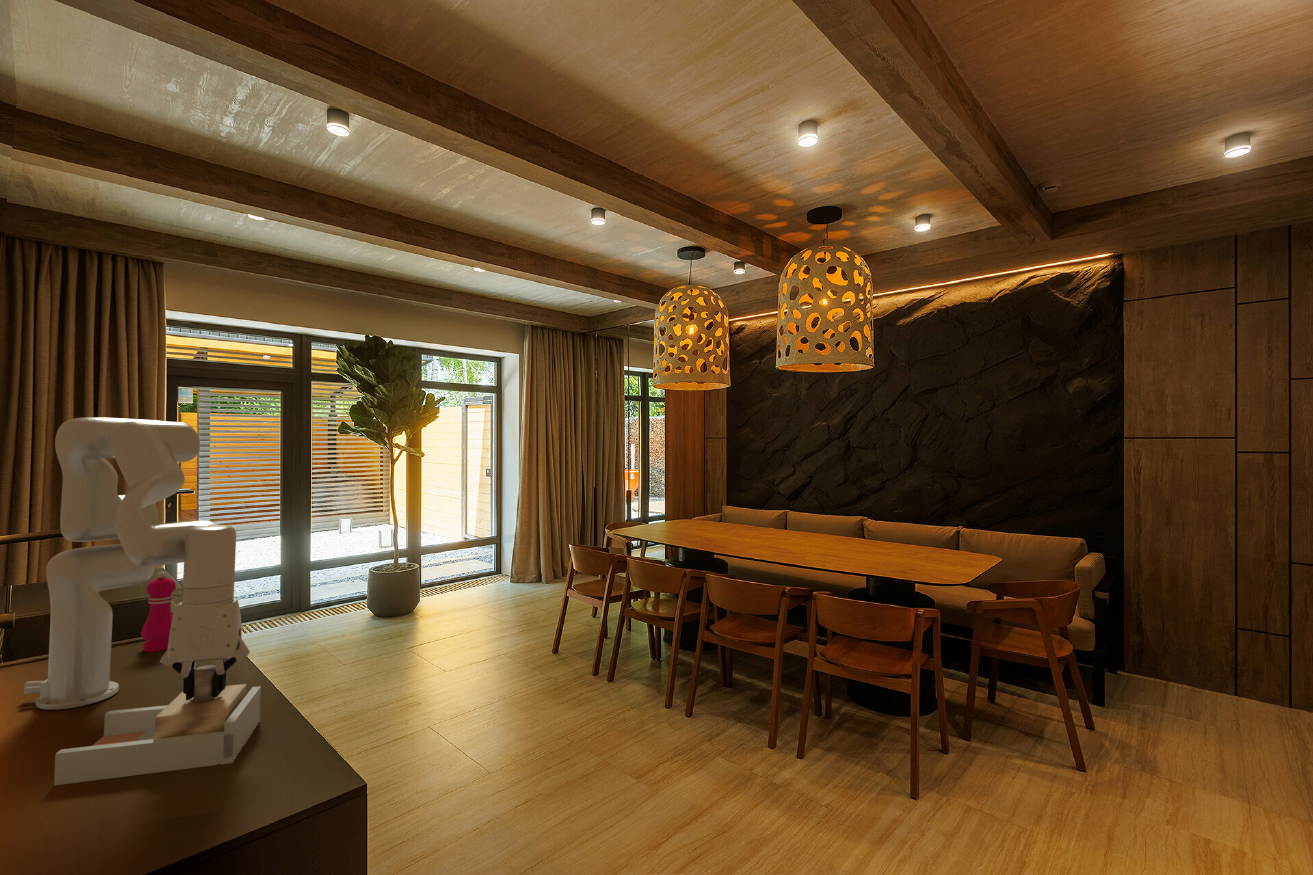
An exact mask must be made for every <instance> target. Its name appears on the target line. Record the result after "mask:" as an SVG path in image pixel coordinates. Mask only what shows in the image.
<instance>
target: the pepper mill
mask: <svg viewBox="0 0 1313 875" xmlns="http://www.w3.org/2000/svg"><path fill="white" fill-rule="evenodd" d="M166 576H167V573H166V572H165V571H159V572H158V573H157V577H156V578H154V579H152V580H150V581H149V582H148V583H147V585H146V588H145V589H146V594H147V595H149V597H148V598H147V599H148V602H147V603H148V604H150V605H149V607H150V609H149V613H148V617H147V618H146V621H145V622H144V624H143V626H142V629H141V636H140V637H141V638H142V639H143V640H144V642H143V644H142V650H143V651H144V652H148V653H149V652H150V653H153V652H162V651H167V649H168V643H169V635H170V629H171V624H172V619H173V613H172V611H171V605H172V604H171V603H172V602H173V600H174V599H173V598H174V597H173V591H174V589H177V585H176V581H175V580H174V579H172V578H171V577H166Z"/></svg>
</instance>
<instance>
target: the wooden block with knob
mask: <svg viewBox="0 0 1313 875" xmlns="http://www.w3.org/2000/svg"><path fill="white" fill-rule="evenodd" d="M215 672H216V664H215V665H214V664H210V665H209V664H208V665H202V666H199V667H195V670H194V691H193V698H192V699H190V700H186V694H183V691H181V692H180V693H179V694H178V695H176V696H175V697H176V698H174V699H173V700H172V701H170V703H169V704H167V705H168V706H167V707H166V708H165V709H164V710H162V711H161V712H160V713H159V714H158V715H157V716H156V717H155V737H154V739H160V738H169V737H178V736H187V735H196V734H205V733H214V732H223V731H224V723H225V722H226V720H227V719H228V718H229V717H230V715H231V714H232V713H233V712H234V710H235V709H236V708H237V706H238V705H239V704H240V703H241V701H242V700H243V699H244V698H245V696H246V695H247V694H248V692H247V691H248V690H247V689H248V684H247V683H243V684H231V685H226V686H225V689H224V690H222V692H221V693H220V694H219V695H218V697H215V698H213V697H212V681H213V676H214V675H215Z"/></svg>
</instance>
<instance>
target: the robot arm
mask: <svg viewBox="0 0 1313 875" xmlns="http://www.w3.org/2000/svg"><path fill="white" fill-rule="evenodd" d="M54 442H55V444H54V446H55V453H56V456H57V459H58V462H59V465H60V469H61V472H62V489H61V490H62V491H61V502H60V504H61V505H60V517H59V518H60V519H59V520H60V521H59V522H60V533H61V534H62V536H63V538H64V539H66V540H68V541H71V542H80V543H81V542H83V543H84V542H95V541H105V540H108V541H109V540H116V539H118V540H119V542H120V543H115V544H106V545H105V544H103V545H94V546H85V547H78V548H72V549H67V550H65V551H64V550H63V551H62V552H59V553H57V554H55V555H54V556H52V557H51V558H50V560H49V561H48V563H47V564H46V567H45V569H46V570H45V576H46V582H47V587H48V592H49V602H50V623H49V624H50V626H49V647H48V666H47V667H48V668H47V678H46V679H45V680H28V681H26V682H25V683H24V685H23V694H24V695H33V694H37V693H38V694H39V695H40V696H39V697H37V699H36V700H35V706H36V708H37V709H40V710H46V711H47V710H48V711H51V710H52V711H54V710H55V711H56V710H58V711H59V710H67V709H74V708H79V707H84V706H88V705H91V704H95V703H98V702H101V701H104V700H106V699H108V698H111V697H112V696H114V695H115V694H117V693H118V692H119V689H120V685H119V683H118V682H115V681H113V680H112V681H111V680H110V679H111V658H112V656H111V655H112V636H113V634H112V633H113V615H114V614H113V608H112V607H111V605H110V603H108V601H106V600H105V599H104V598H103V597H102V596H101V595H100V593H99V592H102V591H106V590H111V589H116V588H117V589H118V588H124V587H129V586H135V585H140V584H143V583H145V582H147V581H148V580H149V579H151V578H152V576H153V575H154V572H155V569H156V567H160V566H168V565H173V564H178V563H179V564H180V563H183V578H182V586H181V588H180V587H179V588H176V589H174V591H173V593H172V595H173V597H172V598H174V597H175V598H176V597H177V598H180V602H179V603H177V604H176V606H175V608H174V611H173V613H172V616H173V619H172V624H171V629H170V635H169V643H168V649H166V650H165V653H164V654H163V656H162V657H161V658H160V660H159V662H160V664H163V665H165V666H168V667H170V668H172V669H173V670H174V671H176V672H177V673H178V674H179V675H180V677H181V678H183V687H182V692H183V694H186V700H190V699H192V698H193V691H194V670H195V669H196V664H197V663H196V662H201V661H202V662H204V661H215V666H216V672H215V675H214V676H213V681H212V697H213V698H215V697H218V695H219V694H220V693H221V692H222V690H224V689H225V686H227V684H226V683H227V671H228V670H229V669H230V668H231V667H232V666H233V665H234V664H235V663H237V662H240V661H242V660H244V659H245V658H247V657H248V656H249V655H250V653H251V651H250V649H249V648H248V646H247V645H246V643H245V641H244V640H243V639H242V638H243V637H242V636H243V633H242V628H243V627H242V616H241V608H240V604H239V599H238V598H237V597H234V596H235V575H236V574H235V573H236V572H235V571H236V555H237V554H236V550H237V532H236V530H235V528H234V527H233V526H231V525H227V524H226V525H225V524H218V523H216V522H214V521H212V520H206V519H205V520H204V519H203V520H192V521H191V520H190V521H179V522H178V521H177V522H164V523H159V521H160V520H159V519H160V518H159V510H158V507H157V505H156V503H158V502H160V501H163V500H165V499H167V498H170V497H171V496H173V495H174V494H176V493H177V492H178V491H179V490H181V488H182V487H183V485H184V484H185V481H186V479H185V477H186V476H185V475H184V472H183V470H182V469H181V466H180V465H179V463H185V462H190V461H192V460H193V459H195V458H196V457H197V456H198V454H199V453H200V449H201V440H200V437H199V434H198V433H197V431H196V430H195V428H193V427H192V425H190V424H189V423H185V422H182V421H167V420H157V419H143V418H141V419H138V418H122V417H121V418H119V417H99V416H97V417H96V416H95V417H94V416H91V417H85V416H84V417H77V418H76V417H75V418H71V419H69V420H65V421H64V422H63V423H62V424H61V425H60V426H59V428H57V432H56V435H55V441H54ZM107 459H115V461H116V464H117V466H118V468H119V469H120V472H121V474H122V475H123V478H124V480H125V482H126V484H127V487H128V488H129V491H127V493H126V494H118V483H119V476H118V473H117V471H116V469H115V468H114V467H113V465H112V464H111V463H110V461H108V460H107ZM235 653H236V654H235Z"/></svg>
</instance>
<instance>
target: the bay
mask: <svg viewBox="0 0 1313 875" xmlns="http://www.w3.org/2000/svg"><path fill="white" fill-rule="evenodd" d="M261 694H262V686H260V685H259V686H252V687H251V688H250V690H249V691H248V692H247V694H246V696H245V698H244V699H243V700H242V701H241V703H240V704H239V705H238V706H237V708H236V709H235V710H234V712H233V713H232V714H231V715H230V717H229V718H228V719H227V720H226V722H225V723H224V731H223V732H214V733H205V734H196V735H187V736H178V737H169V738H160V739H154V737H155V717H156V716H157V715H158V714H159V713H160V712H161V711H162V710H164V709H165V708H166V707H167V706H168V705H169V704H167V705H158V706H157V705H156V706H148V707H136V708H128V709H127V708H125V709H115V710H108V711H107V712H106V713H105V714H104V725H103V726H104V727H103V736H102V737H101V738H99V739H98V741H96V742H95V743H94V744H92V745H89V746H80V747H70V748H63V749H60V750H58V751H57V752H56V753H55V758H54V760H55V761H54V778H53V779H54V780H53V782H54V783H53V786H60V785H69V784H78V783H84V782H85V783H86V782H92V781H99V780H101V781H102V780H108V779H109V780H110V779H115V778H123V777H132V776H139V775H140V776H141V775H146V774H147V775H148V774H157V773H164V772H172V771H180V770H187V769H195V768H202V767H204V768H205V767H213V766H218V765H217V764H220V765H226V764H233V763H234V762H235V760H236V758H237V756H239V754H238V753H241V751H242V749H243V748H244V746H245V745H246V744H247V743H248V742H247V741H248V740H249V739H250V737H251V736H252V735H253V733H254V732H255V730H256V728H257V727H258V725H259V724H258V723H260V722H261V721H260V719H261V697H262V695H261ZM256 726H257V727H256ZM254 729H255V730H254ZM242 747H243V748H242Z"/></svg>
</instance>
